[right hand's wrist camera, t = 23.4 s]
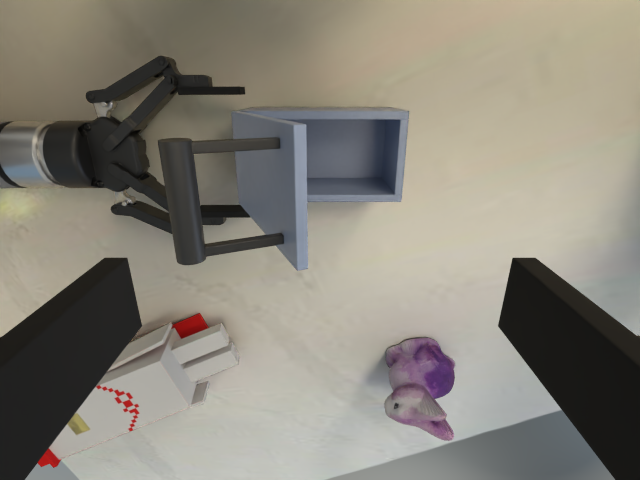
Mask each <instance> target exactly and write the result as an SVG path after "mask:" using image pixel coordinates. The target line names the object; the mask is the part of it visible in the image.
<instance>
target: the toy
mask: <svg viewBox="0 0 640 480" xmlns="http://www.w3.org/2000/svg"><path fill="white" fill-rule="evenodd" d="M228 342H229V335H228V333H227V332H226V330H225V328H224V326H223V324H222V323H220V324H218V325H215V326H213V327H210V328H208V326H207V324H206V323H205V321H204V319H203V318H202V316H201V314H200V313H199V314H196V315H194V316H192V317H190V318H187V319H185V320H183V321H180V322H178V323H176V324H174V325H172V324H171V323H169V324H167V325H165V326H163V327H161V328H159V329H157V330H155V331H153V332H151V333H149V334H147V335H145V336H143V337H141V338H139V339H137V340H135V341H133V342H131V343H129V344H128V345H127V346H126V347H125V349H124V350H123V351H122V353H121V354H120V355H119V357H118V358H117V359H116V361H115V362H114V363H113V364H112V366H111V367H110V368H109V370H108V371H107V372H106V374H105V375H104V376H103V378H102V379H101V380H100V382H99V383H98V384H97V385H96V387H95V388H94V389H93V391H92V392H91V393H90V395H89V396H88V397H87V399H86V400H85V401H84V402H83V404H82V405H81V406H80V408H79V409H78V410H77V412H76V413H75V414H74V416H73V417H72V418H71V420H70V421H69V422H68V423H67V425H66V426H65V427H64V429H63V430H62V431H61V433H60V434H59V435H58V437H57V438H56V439H55V441H54V442H53V443H52V444H51V446H50V447H49V448H48V450H47V451H46V452H45V454H44V455H43V456H42V458H41V459H40V460H39V461H38V464H39V465H40V466H41V467H42V466H45V465H47V464H51V465H52V467H53V468H54V467H56V466H58V464H59V462H60V461H61V459H62V458H65V457H67V456H70V455H72V454H75V453H77V452H80V451H82V450H85V449H87V448H90V447H92V446H95V445H97V444H100V443H102V442H105V441H107V440H110V439H112V438H115V437H117V436H120V435H122V434H125V433H127V432H130V431H132V430H135V429H137V428H140V427H142V426H145V425H147V424H150V423H152V422H155V421H157V420H160V419H162V418H165V417H167V416H170V415H172V414H175V413H177V412H180V411H182V410H185V409H188V408H192V407H195V406H198V405H201V404H204V402H205V398H206V395H207V391H208V388H209V382H208V381H207V382H204V383H200V384H197V381H198V380H201V379H203V378H206V377H208V376H211V375H213V374H216V373H218V372H221V371H223V370H226V369H228V368H231V367H233V366H236V365H238V364H239V357H240V355H239V353H238V351H237V350H236V348H235V346H234V344H233V342H231V343H228ZM196 384H197V385H196Z"/></svg>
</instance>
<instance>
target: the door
mask: <svg viewBox="0 0 640 480" xmlns="http://www.w3.org/2000/svg"><path fill="white" fill-rule="evenodd" d="M231 115H232V127H233V139H225V140H204V141H192V140H191V139H189V138H169V139H161V140H158V145H159V151H160V158H161V164H162V170H163V177H164V183H165V189H166V196H167V202H168V208H169V214H170V221H171V227H172V233H173V240H174V246H175V252H176V259H177V262H178V263H179V264H182V265H194V264H198V263H201V262H203V261H204V260H205V259H206V257H207V256H213V255H219V254H225V253H231V252H237V251H243V250H250V249H256V248H262V247H268V246H274V245H275V246H276V247H277V248H278V249H279V250H280V251H281V252H282V254H283V255H284V256H285V257H286V258H287V259H288V261H289V262H290V263H291V264H292V265H293V266H294V268H295V269H296V270H304V269H308V229H307V147H306V124H302V123H297V122H292V121H287V120H282V119H277V118H271V117H266V116H261V115H256V114H251V113H246V112H241V111H231ZM218 152H235V163H236V175H237V186H238V198H239V204H240V205H241V206H242V207H243V208H244V210H245V211H246V212H247V213H248V214H249V215H250V217H251V218H252V219H253V220H254V221H255V222H256V224H257V225H258V226H259V227H260V228H261V229H262V230H263V232H264V233H265V234H266V235H262V236H255V237H248V238H242V239H235V240H228V241H222V242H215V243H208V244H205V242H204V234H203V226H202V218H201V210H200V202H199V194H198V186H197V178H196V170H195V162H194V154H202V153H218Z"/></svg>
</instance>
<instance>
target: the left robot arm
mask: <svg viewBox="0 0 640 480" xmlns="http://www.w3.org/2000/svg"><path fill="white" fill-rule="evenodd" d="M162 76H164V77H165V78H164V80H163V81H162V82H161V83H160V84H159V85H158V86H157V87H156V88H155V89H154V90H153V91H152V92H151V94H150V95H149V96H148V97H147V98H146V99H145V100H144V101H143V102H142V103H141V104H140V105H139V106H138V108H137V109H136V110H135V111H134V112H133V113H132V114H131V115H130V116H129V117H128V118H126V119H125V120H124V121H123V122H120V121H119V120H117V119H116V118H114V117H112V116H111V111H112V110H113V109H115V108H116V107H117V102H116V101H120V100H123V99H125V98H127V97H129V96H130V95H132V94H134V93H135V92H137V91H139V90H140V89H142V88H144V87H145V86H147V85H149V84H150V83H152V82H154V81H155V80H157V79H159V78H160V77H162ZM177 92H178V94H179V95H237V94H245V87H213V85H212V78H211V77H209V76H206V75H182V74H180V73H179V71H178V69H177V67H176V62H175V60H174V59H172V58H169V57H164V56H158V57H157V58H155V59H153V60H152V61H150V62H148V63H147V64H145V65H144V66H142V67H140V68H139V69H137V70H135V71H134V72H132V73H130V74H129V75H127V76H126V77H124V78H122V79H121V80H119V81H117V82H116V83H114V84H112V85H111V86H109V87H108V88H106V89H102V90H95V91H89V92H87V93H86V99H87V100H88V101H89V102H90V103H93V104H94V107H95V110H96V113H97V116H98V118H97V119H95V120H93V121H57V122H54V121H15V122H0V188H65V187H68V188H107V189H110V190H112V191H114V199H115V205H113V206H112V207H111V211H112V213H114V214H116V215H125V216H132V217H134V218H136V219H139V220H141V221H143V222H146V223H148V224H150V225H153V226H155V227H157V228H160V229H162V230H164V231H166V232H169V233H171V234H173V233H172V227H171V221H170V214H169V213H167V212H165V211H162V210H160V209H158V208H155V207H153V206H151V205H149V204H146V203H144V202H140V201H136V198H135V197H133V196H130V195H128V194H127V192H126V189H128V188H129V187H131V188H133V189H134V190H136V191H137V192H139V193H143V194H145V195H146V196H148V197H149V198H150V199H152V200H153V201H155V202H156V203H157V204H159V205H160V206H162V207H163V208H164V209H166V210H167V211H169V208H168V202H167V196H166V189H165V186H163V185H162V184H160V183H159V182H158V181H157V179H156V178H155V177H154V176H152V175H151V174H150V173H148V172H147V170H148V167H150V165H149V160H148V158H147V155H146V142H145V140H143V139H142V137H141V136H140V135H139V134H140V133H141V132H142V131H143V129H144V128H145V127H146V126H147V124H148V123H149V122H150V121H151V119H152V118H153V117H154V116H155V115H156V114H157V113H158V112H159V111H160V110H161V109H162V108H163V107H164V106H165V105H166V104H167V103H168V102H169V101H170V100H171V99H172V97H173V96H174V95H175V94H176V93H177ZM200 210H201V218H202V225H221V224H223V223H224V222H225V221H226V218H232V217H250V215H249V214H248V213H247V212H246V211H245V210H244V208H243V207H242V206H241V205H201V206H200Z"/></svg>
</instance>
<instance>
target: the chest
mask: <svg viewBox="0 0 640 480" xmlns="http://www.w3.org/2000/svg"><path fill="white" fill-rule="evenodd" d="M238 111H241V112H246V113H251V114H256V115H261V116H266V117H271V118H277V119H282V120H287V121H292V122H297V123H302V124H306V147H307V202H401V199H402V188H403V177H404V165H405V153H406V142H407V130H408V119H409V111H406V110H401V109H396V108H392V107H252V108H247V109H243V110H238Z"/></svg>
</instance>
